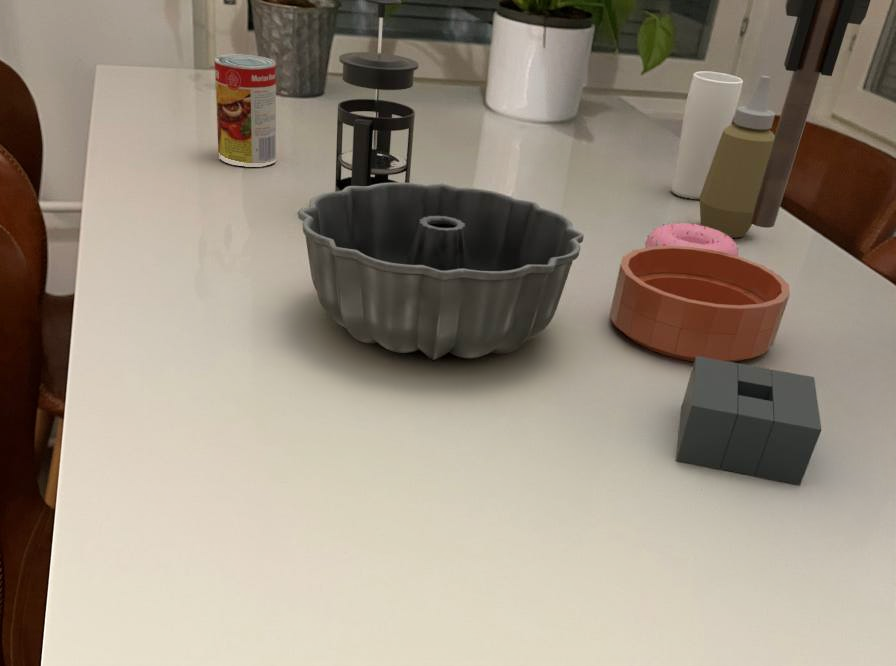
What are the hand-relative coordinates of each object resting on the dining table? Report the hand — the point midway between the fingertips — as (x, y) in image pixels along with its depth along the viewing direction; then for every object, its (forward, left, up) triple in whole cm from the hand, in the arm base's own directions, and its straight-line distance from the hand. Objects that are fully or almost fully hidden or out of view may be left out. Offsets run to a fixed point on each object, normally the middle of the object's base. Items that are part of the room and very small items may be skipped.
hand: (807, 69), depth 76 cm
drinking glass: (+5, -64, -26) cm, 69 cm away
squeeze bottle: (0, -49, -26) cm, 55 cm away
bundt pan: (+28, -2, -26) cm, 38 cm away
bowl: (+3, -12, -26) cm, 29 cm away
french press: (+43, -31, -26) cm, 59 cm away
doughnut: (+4, -32, -26) cm, 41 cm away
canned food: (+65, -46, -26) cm, 83 cm away
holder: (-2, +11, -26) cm, 29 cm away
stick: (0, 0, -11) cm, 11 cm away
